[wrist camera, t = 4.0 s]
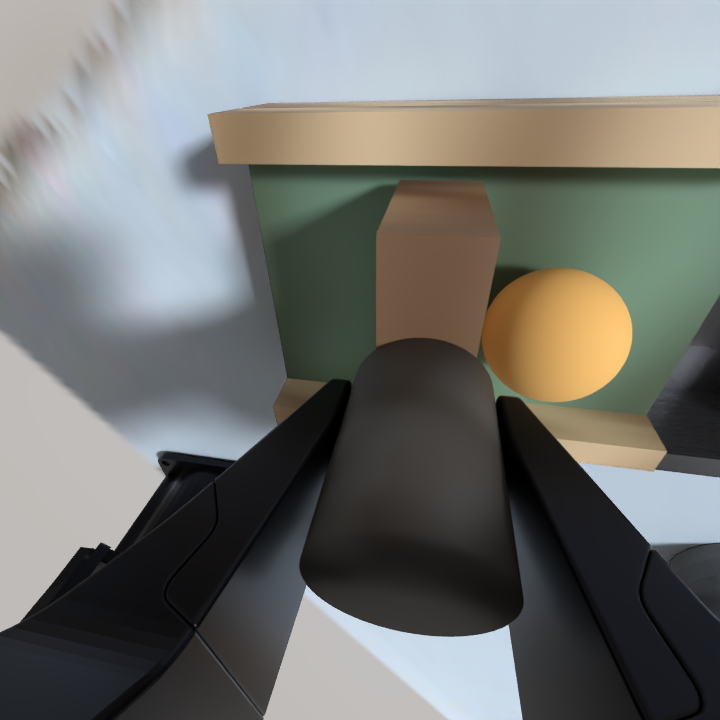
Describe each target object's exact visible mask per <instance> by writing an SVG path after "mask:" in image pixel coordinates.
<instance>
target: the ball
mask: <svg viewBox="0 0 720 720" xmlns="http://www.w3.org/2000/svg"><path fill="white" fill-rule="evenodd" d="M631 344H632V322H631V318H630V314H629V312H628V309H627V307H626V305H625V303H624V302H623V300H622V298H621V297H620V295H619V294H618V293H617V292H616V291H615V290H614V289H613V288H612V287H611V286H610V285H609V284H607V283H606V282H605V281H603V280H602V279H600V278H598V277H596V276H594V275H593V274H590V273H587V272H585V271H581V270H577V269H572V268H547V269H542V270H537V271H534V272H531V273H528V274H526V275H524V276H521V277H519V278H518V279H516V280H514V281H513V282H511V283H510V284H509V285H507V286H506V287H505V288H504V289H503V290H502V291H501V292H500V293H499V294H498V295H497V296H496V297H495V299H494V300H493V302H492V303H491V305H490V307H489V308H488V310H487V313H486V315H485V320H484V325H483V330H482V347H483V352H484V356H485V358H486V361H487V363H488V365H489V367H490V368H491V370H492V372H493V373H494V374H495V375H496V376H497V378H498V379H499V380H500V381H501V382H502V383H503V384H504V385H506V386H507V387H508V388H510V389H511V390H513V391H514V392H516V393H518V394H520V395H522V396H525V397H527V398H530V399H534V400H538V401H545V402H565V401H572V400H576V399H579V398H583V397H585V396H588V395H590V394H592V393H594V392H596V391H597V390H599V389H601V388H602V387H604V386H605V385H606V384H607V383H609V382H610V381H611V380H612V379H613V378H614V377H615V376H616V375H617V373H618V372H619V371H620V369H621V368H622V366H623V365H624V363H625V361H626V359H627V357H628V354H629V351H630V348H631Z"/></svg>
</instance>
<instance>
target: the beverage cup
mask: <svg viewBox="0 0 720 720" xmlns="http://www.w3.org/2000/svg"><path fill="white" fill-rule="evenodd" d="M669 566H670V567H671V569H672V570H673V571H674V572H675V573H676V574H677V575H678V576H679V577H680V579H681V580H682V581H683V582H684V583H685V584H686V585H687V586H688V587H689V588H690V589H691V591H692V592H693V593H694V594H695V595H696V596H697V597H698V598H699V599H700V600H701V601H702V602H703V604H704V605H705V606H706V607H707V608H708V609H709V610H710V611H711V612H712V613H713V614H714V615H715V616H716V617H717V618H718V619H719V620H720V543H717V544H709V545H701V546H698V547H694V548H691V549H687V550H685V551H683V552H681V553H679V554H677V555H676V556H675V557H674V558H673V559H672V560H671V561H670V564H669Z"/></svg>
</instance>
